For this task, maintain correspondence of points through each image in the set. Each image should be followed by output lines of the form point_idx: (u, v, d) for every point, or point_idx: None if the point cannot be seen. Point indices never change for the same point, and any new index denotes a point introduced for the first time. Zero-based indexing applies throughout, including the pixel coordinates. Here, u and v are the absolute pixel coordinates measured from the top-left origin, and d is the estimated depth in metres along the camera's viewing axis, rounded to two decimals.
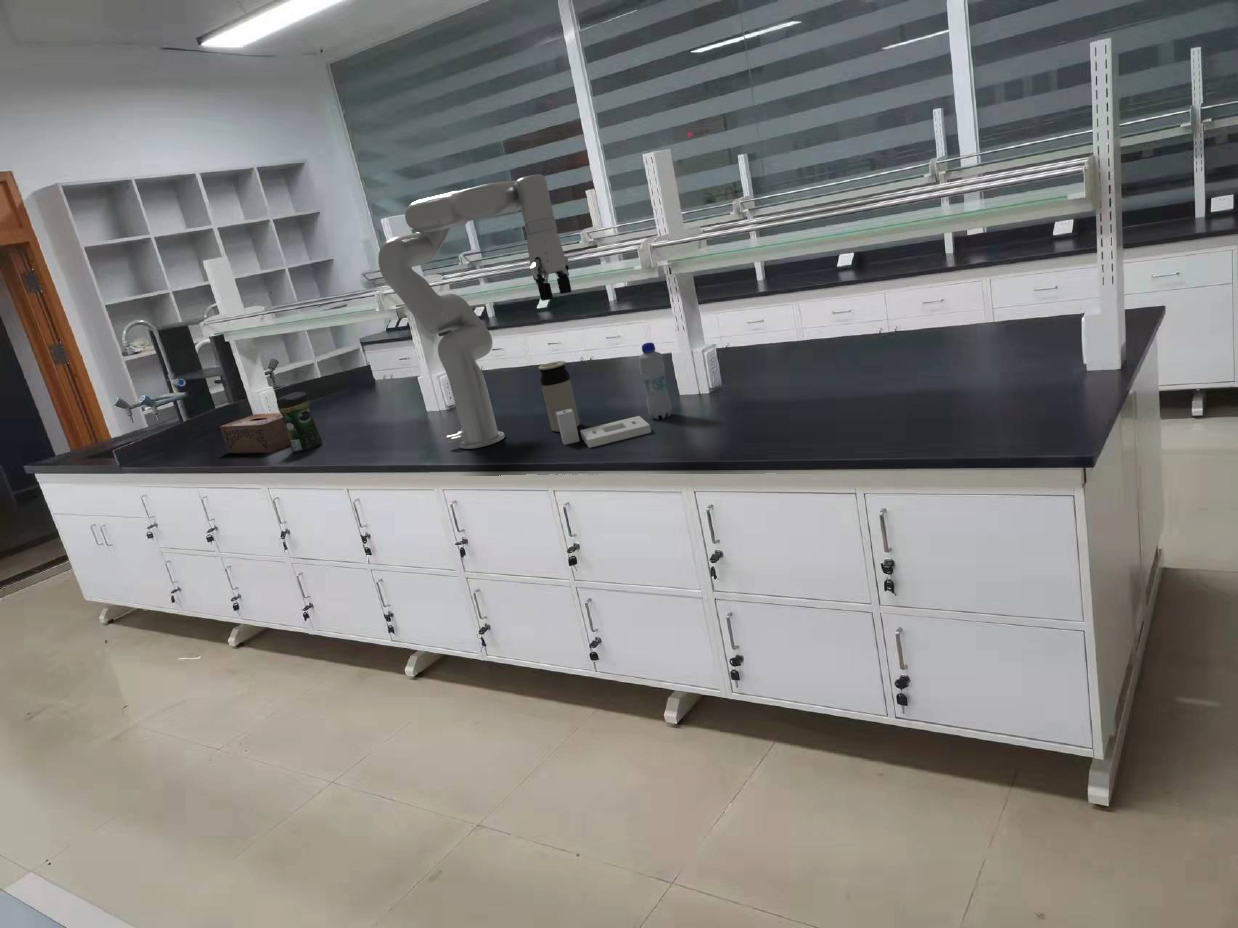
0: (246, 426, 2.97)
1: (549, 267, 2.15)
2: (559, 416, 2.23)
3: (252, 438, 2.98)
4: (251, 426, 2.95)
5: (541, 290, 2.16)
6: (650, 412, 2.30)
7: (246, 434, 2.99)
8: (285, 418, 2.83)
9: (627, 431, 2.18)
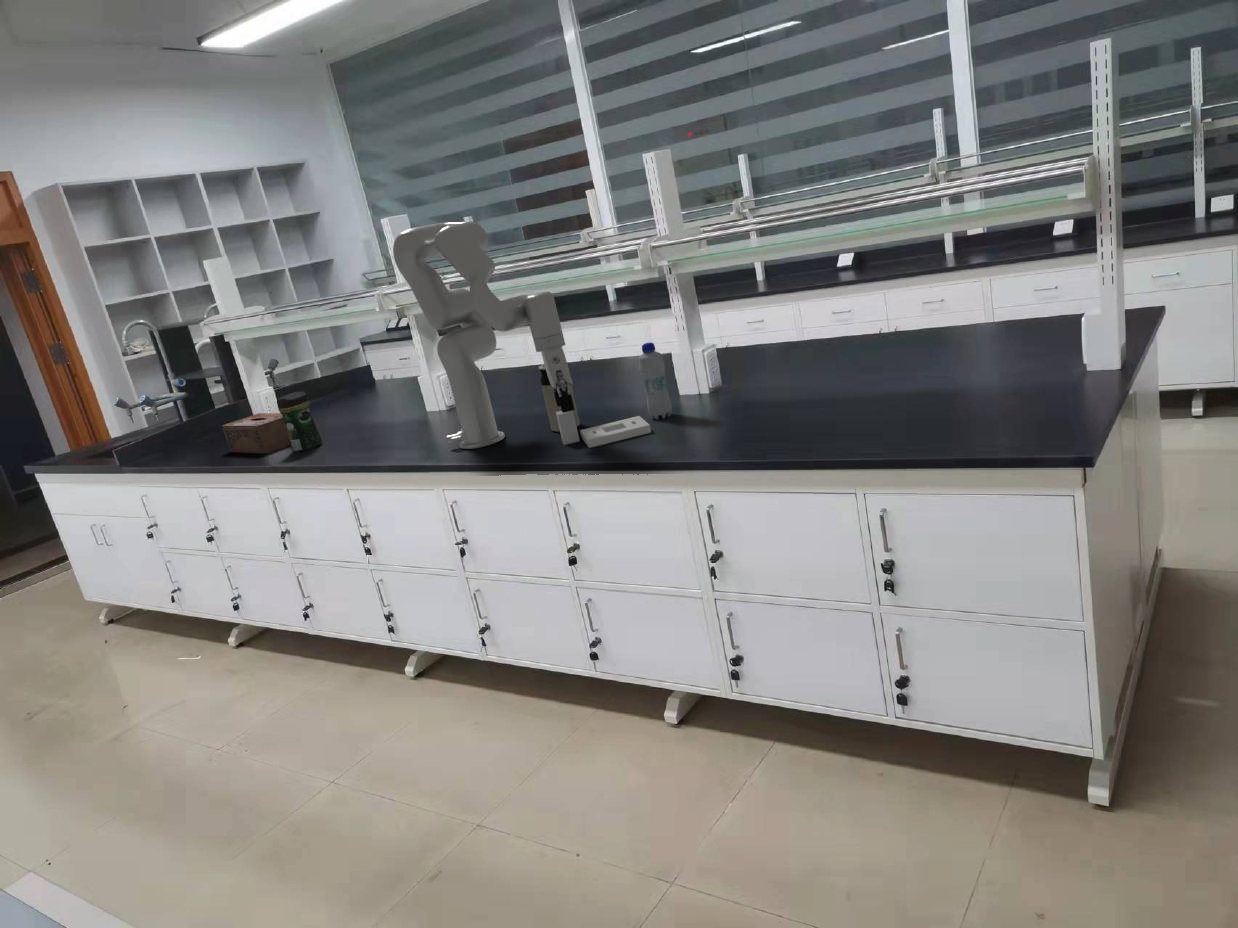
0: (244, 426, 2.97)
1: None
2: (559, 416, 2.23)
3: (250, 438, 2.98)
4: (248, 426, 2.95)
5: None
6: (650, 412, 2.30)
7: (245, 434, 2.99)
8: (285, 418, 2.83)
9: (627, 431, 2.18)
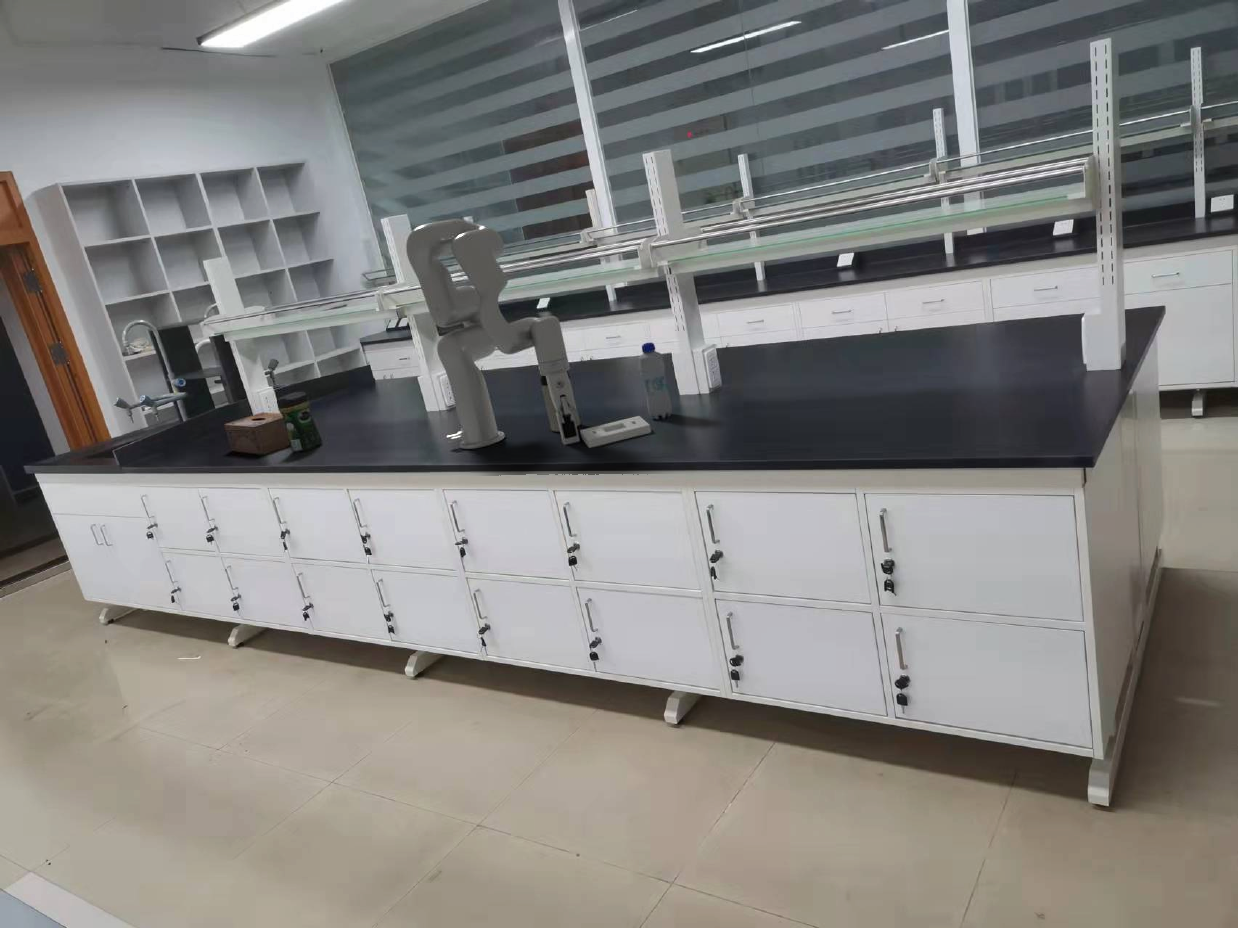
0: (243, 426, 2.97)
1: None
2: (559, 416, 2.23)
3: (248, 439, 2.98)
4: (246, 427, 2.95)
5: None
6: (650, 412, 2.30)
7: (243, 434, 2.99)
8: (285, 418, 2.83)
9: (627, 431, 2.18)
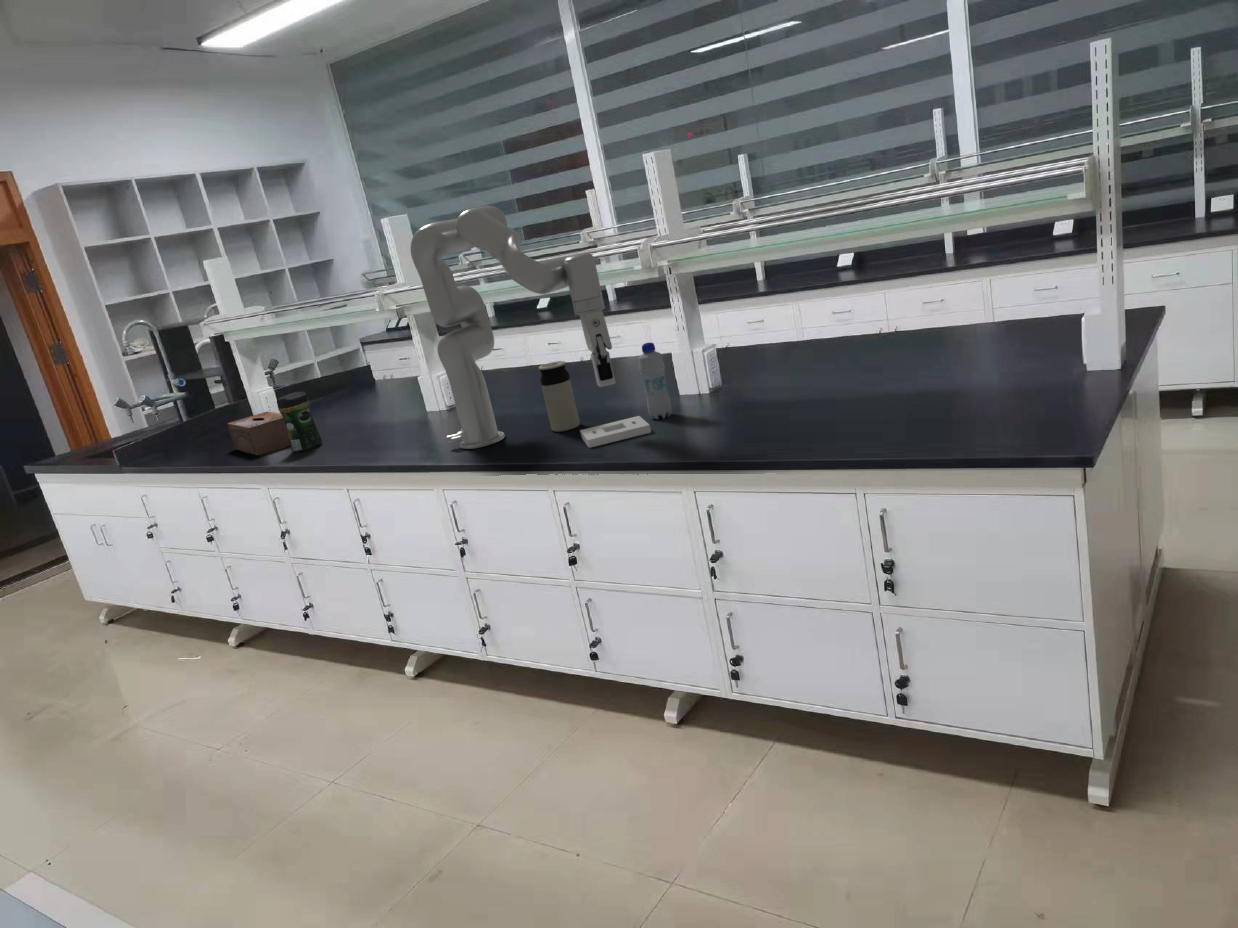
0: (241, 427, 2.98)
1: None
2: (594, 357, 2.16)
3: (246, 439, 2.98)
4: (243, 427, 2.96)
5: None
6: (650, 412, 2.30)
7: (242, 434, 3.00)
8: (285, 418, 2.83)
9: (627, 431, 2.18)
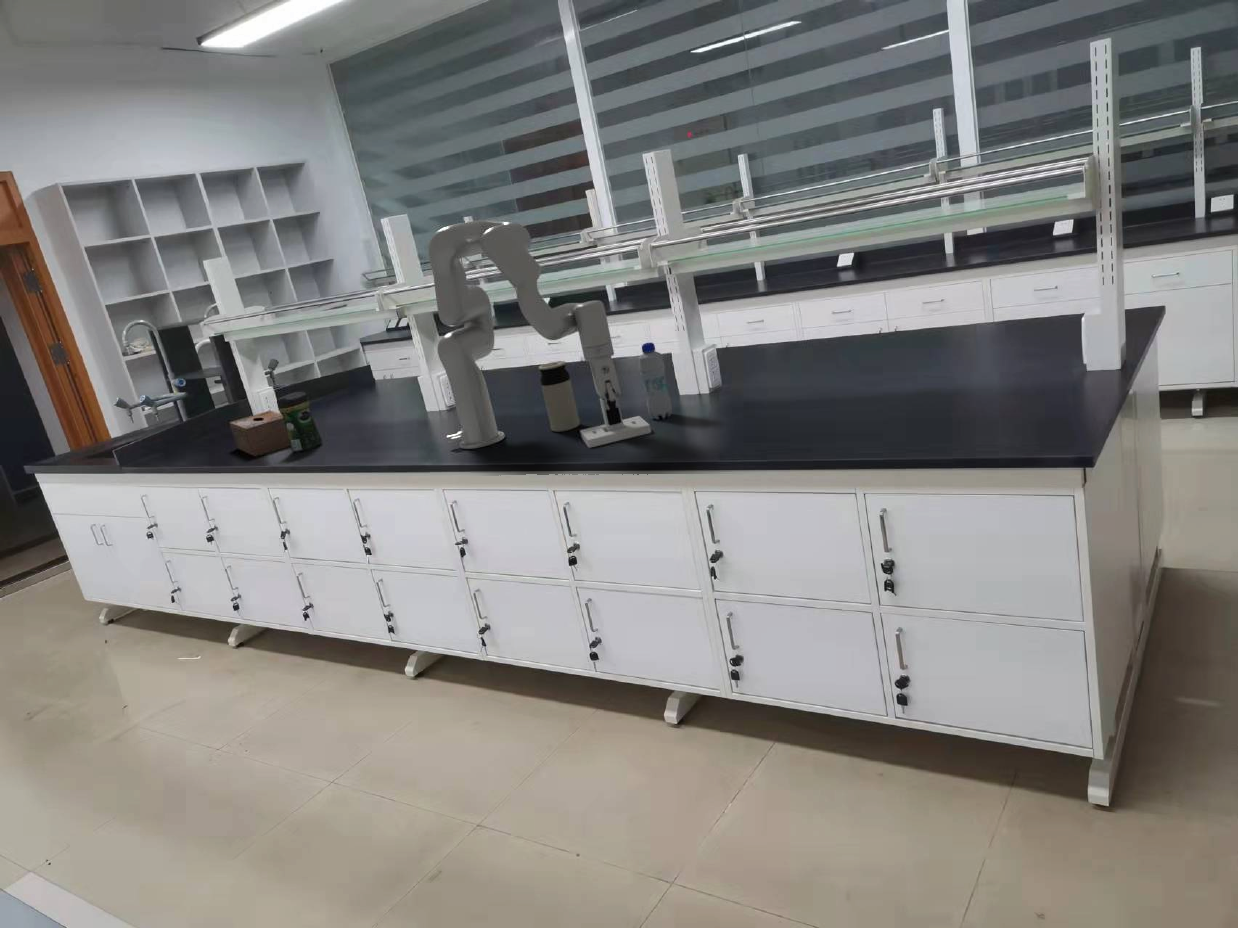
0: (240, 427, 2.98)
1: None
2: (603, 402, 2.19)
3: (244, 439, 2.98)
4: (242, 428, 2.96)
5: None
6: (650, 412, 2.30)
7: (241, 434, 3.00)
8: (285, 418, 2.83)
9: (627, 431, 2.18)
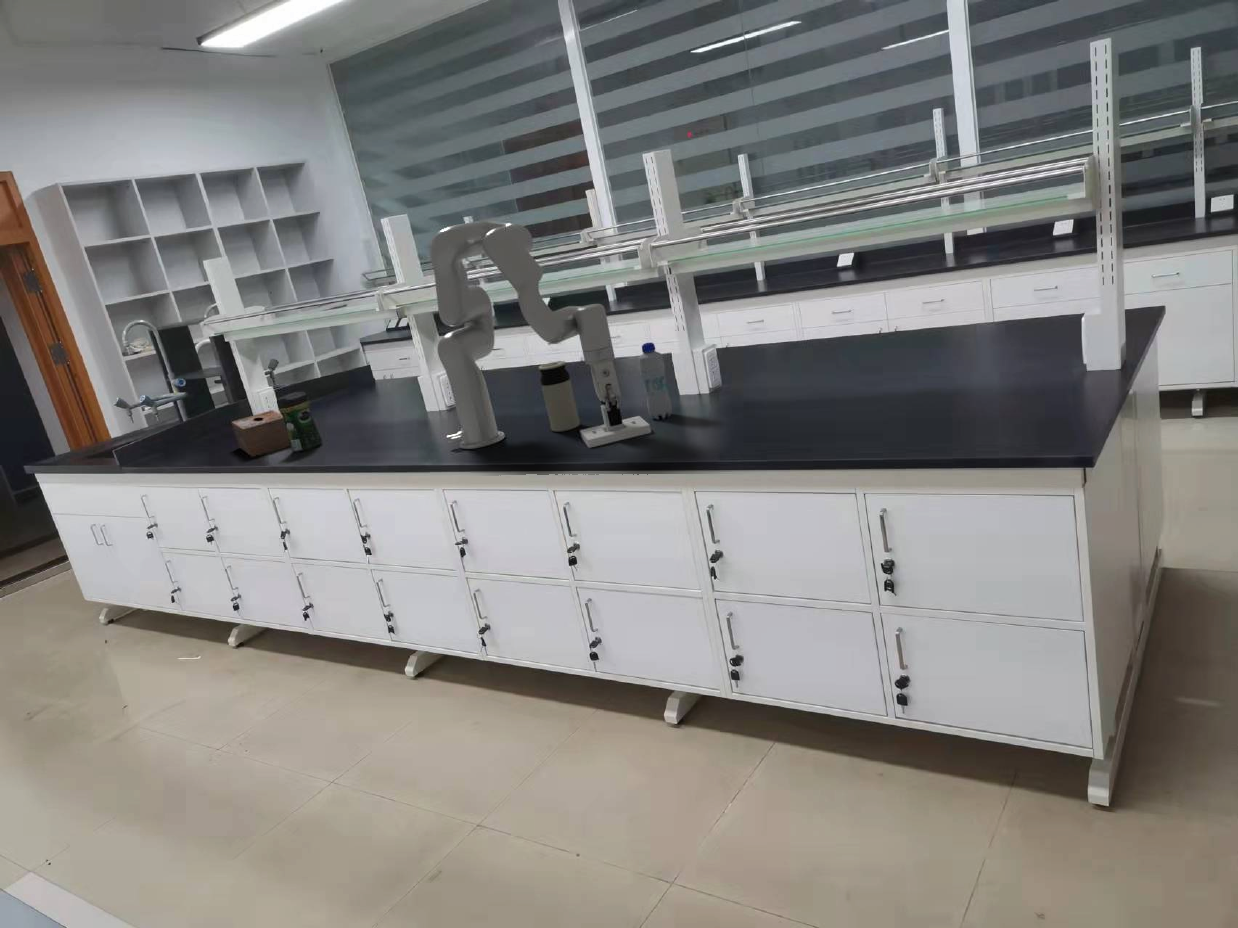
0: (239, 427, 2.98)
1: None
2: (604, 409, 2.20)
3: (243, 439, 2.99)
4: (240, 428, 2.96)
5: None
6: (650, 412, 2.30)
7: (240, 434, 3.00)
8: (285, 418, 2.83)
9: (627, 431, 2.18)
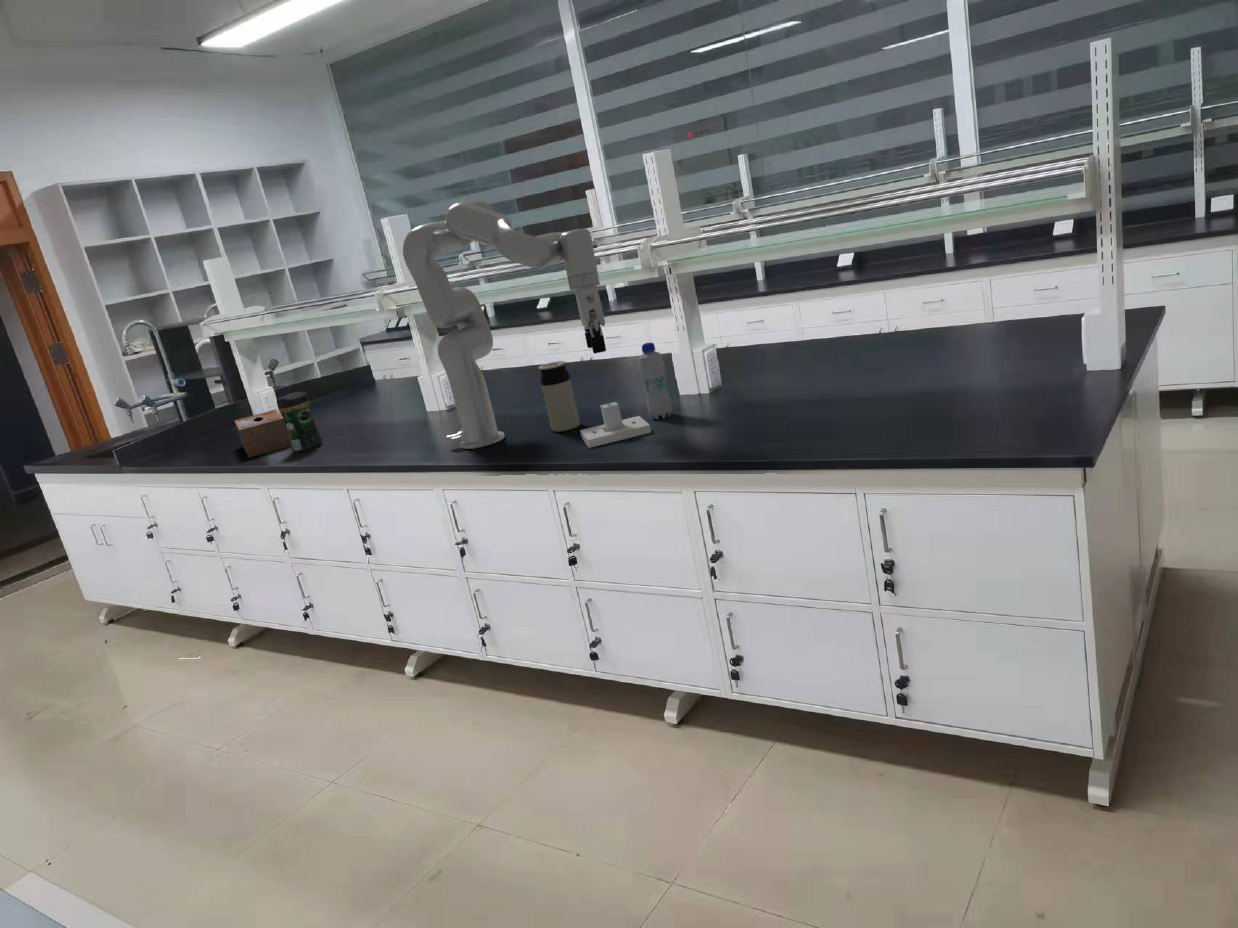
0: (237, 427, 2.99)
1: None
2: (604, 409, 2.20)
3: (242, 440, 2.99)
4: (238, 428, 2.96)
5: None
6: (650, 412, 2.30)
7: None
8: (285, 418, 2.83)
9: (627, 431, 2.18)
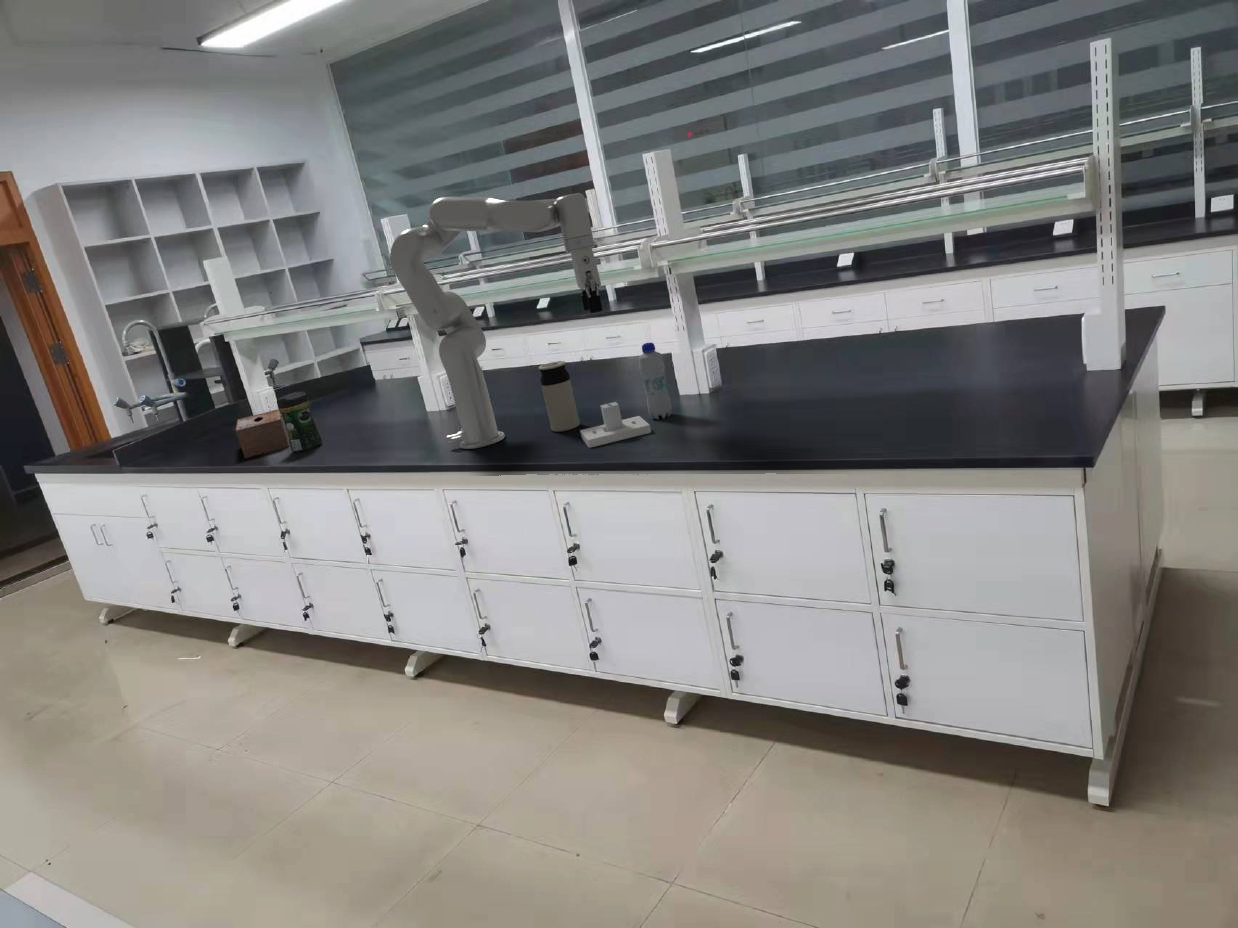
0: (236, 427, 2.99)
1: (577, 282, 2.30)
2: (604, 409, 2.20)
3: None
4: (236, 428, 2.97)
5: None
6: (650, 412, 2.30)
7: None
8: (285, 418, 2.83)
9: (627, 431, 2.18)
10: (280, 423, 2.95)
